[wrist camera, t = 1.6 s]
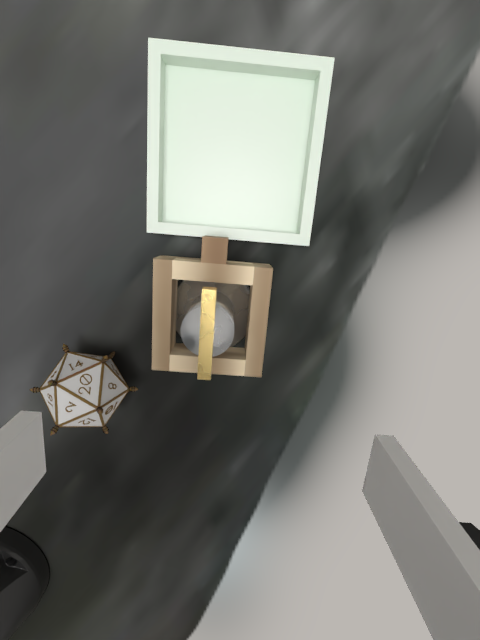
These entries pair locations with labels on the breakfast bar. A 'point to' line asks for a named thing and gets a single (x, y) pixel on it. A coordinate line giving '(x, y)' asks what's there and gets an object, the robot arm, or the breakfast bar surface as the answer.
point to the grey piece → (211, 319)
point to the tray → (234, 141)
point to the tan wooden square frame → (219, 271)
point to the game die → (83, 390)
